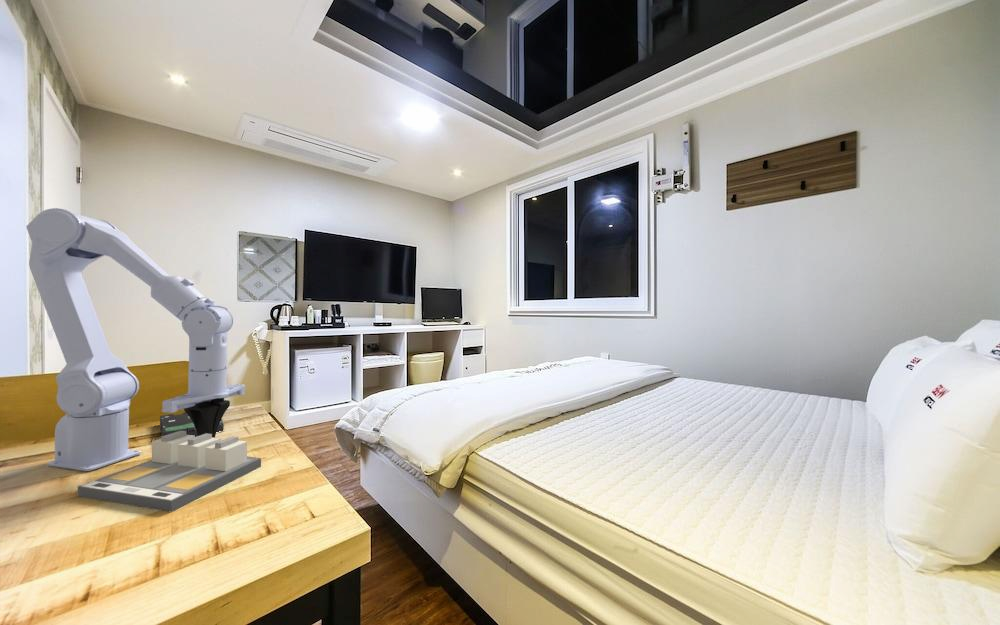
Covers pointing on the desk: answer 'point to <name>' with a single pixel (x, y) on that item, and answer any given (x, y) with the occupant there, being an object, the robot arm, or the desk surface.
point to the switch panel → (162, 484)
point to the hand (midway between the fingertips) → (206, 440)
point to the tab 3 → (226, 454)
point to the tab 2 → (195, 450)
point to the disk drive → (180, 424)
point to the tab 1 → (168, 447)
